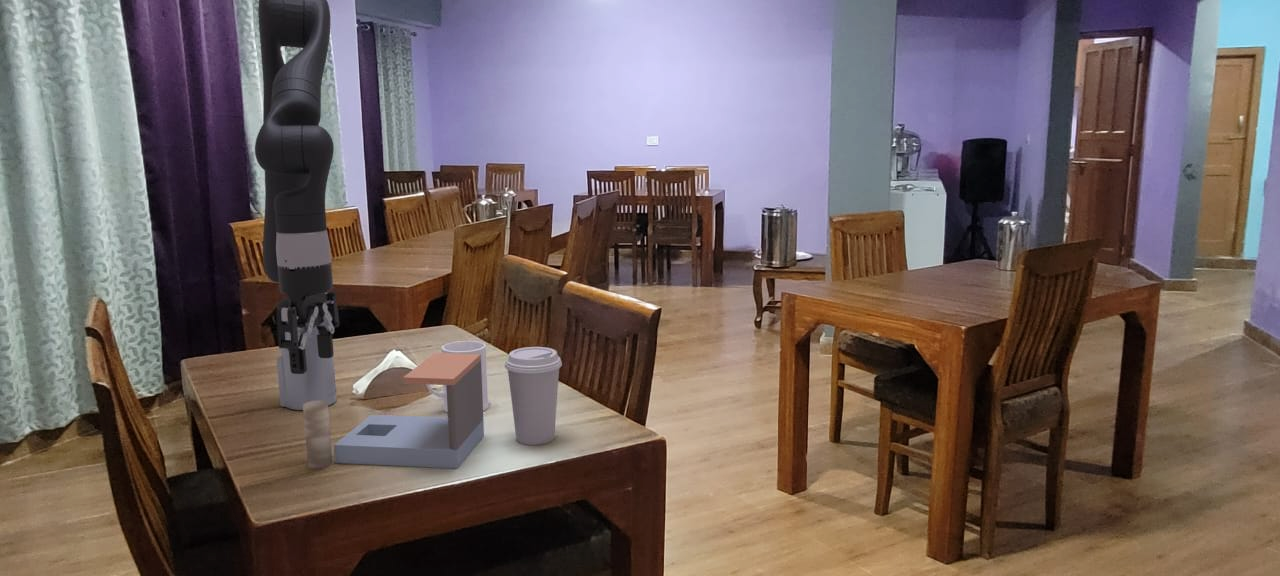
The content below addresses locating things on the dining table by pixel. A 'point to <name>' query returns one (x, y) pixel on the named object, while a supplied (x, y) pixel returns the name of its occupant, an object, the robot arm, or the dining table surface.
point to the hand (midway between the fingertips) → (313, 365)
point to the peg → (317, 434)
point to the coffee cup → (534, 393)
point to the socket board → (425, 421)
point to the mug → (466, 348)
